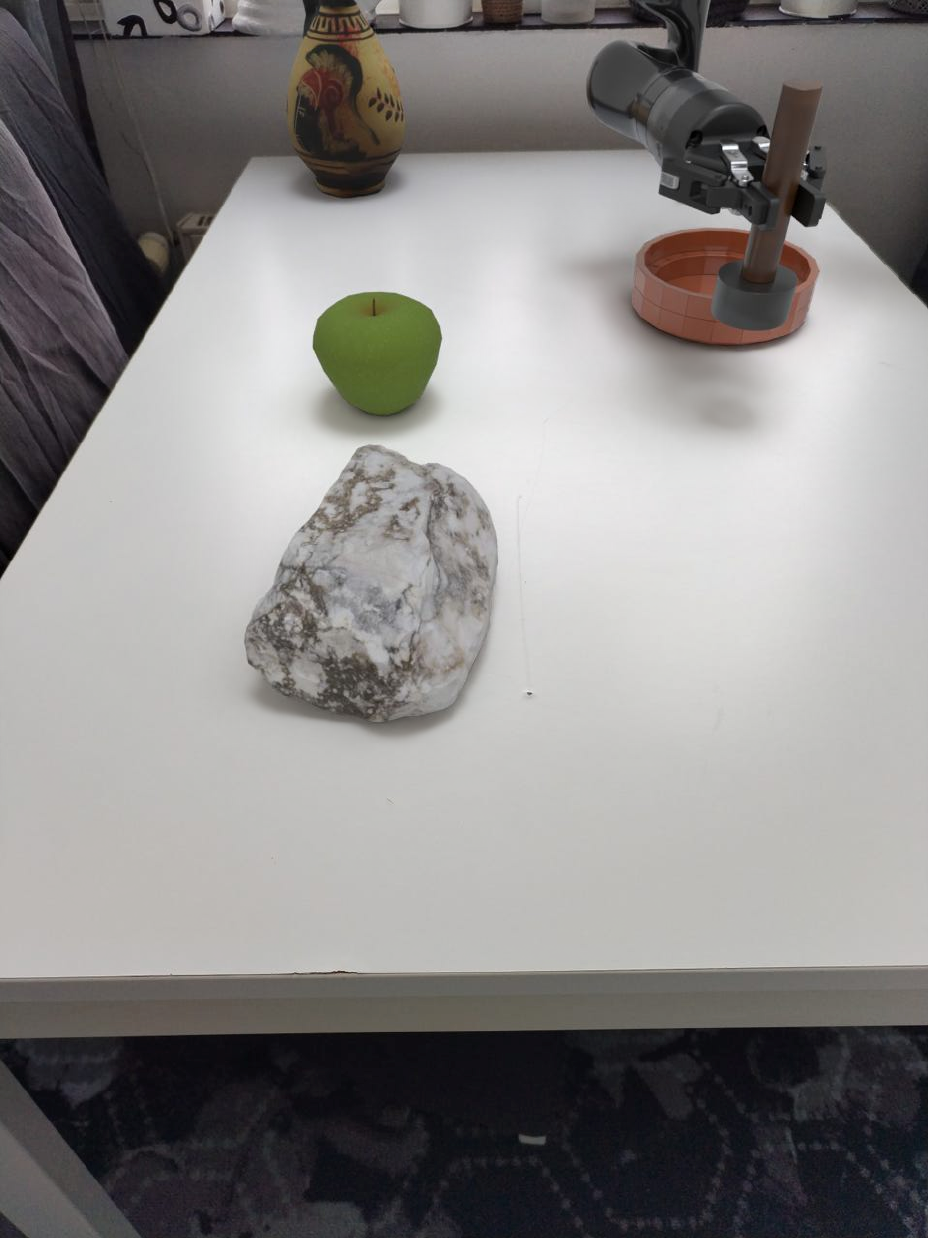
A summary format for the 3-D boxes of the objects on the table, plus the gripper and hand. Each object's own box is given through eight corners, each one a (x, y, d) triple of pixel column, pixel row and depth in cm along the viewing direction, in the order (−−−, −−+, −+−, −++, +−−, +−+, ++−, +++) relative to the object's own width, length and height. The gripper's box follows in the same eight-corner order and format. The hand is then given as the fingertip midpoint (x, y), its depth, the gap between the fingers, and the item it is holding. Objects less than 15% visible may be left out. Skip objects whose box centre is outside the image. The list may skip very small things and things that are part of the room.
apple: (457, 382, 80) (454, 275, 73) (423, 444, 73) (416, 332, 65) (348, 368, 82) (335, 263, 75) (304, 427, 75) (285, 317, 68)
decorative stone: (353, 491, 65) (358, 391, 57) (520, 550, 65) (550, 457, 56) (236, 703, 55) (222, 618, 46) (436, 776, 54) (457, 703, 45)
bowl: (760, 267, 96) (771, 221, 93) (836, 340, 84) (852, 290, 80) (609, 282, 94) (614, 235, 91) (664, 359, 82) (672, 309, 78)
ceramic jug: (431, 176, 119) (419, -105, 98) (364, 213, 110) (335, -89, 89) (334, 157, 126) (303, -111, 105) (264, 190, 117) (214, -96, 95)
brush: (770, 292, 71) (827, 68, 59) (800, 327, 67) (867, 94, 55) (700, 298, 70) (743, 73, 59) (725, 333, 66) (777, 99, 55)
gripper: (628, 93, 69) (709, 164, 57) (793, 81, 70) (906, 148, 58) (618, 192, 74) (690, 277, 62) (771, 179, 76) (871, 259, 63)
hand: (794, 214), depth 60 cm, fingers closed on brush, 2 cm apart
